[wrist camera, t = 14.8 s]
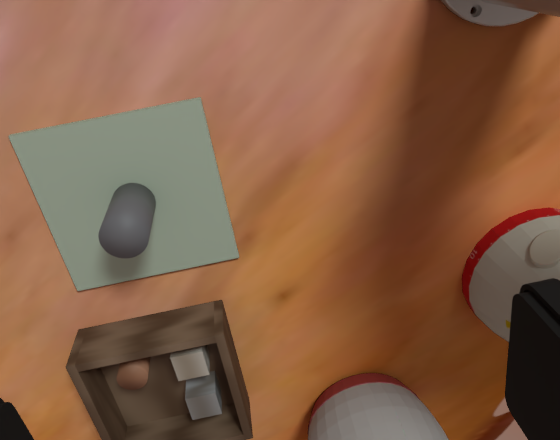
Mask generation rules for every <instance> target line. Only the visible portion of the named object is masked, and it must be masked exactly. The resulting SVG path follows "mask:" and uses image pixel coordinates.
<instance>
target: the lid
mask: <svg viewBox="0 0 560 440" xmlns="http://www.w3.org/2000/svg"><path fill="white" fill-rule="evenodd" d="M8 137H9V139H10V141H11V143H12V146H13V148H14V150H15V152H16V155H17V157H18V159H19V161H20V163H21V166H22V168H23V170H24V172H25V175H26V177H27V179H28V181H29V184H30V186H31V188H32V190H33V193H34V195H35V197H36V199H37V202H38V204H39V206H40V208H41V210H42V213H43V215H44V217H45V219H46V222H47V224H48V226H49V228H50V231H51V233H52V235H53V237H54V240H55V242H56V244H57V246H58V249H59V251H60V253H61V255H62V257H63V260H64V262H65V264H66V266H67V269H68V271H69V273H70V275H71V278H72V280H73V282H74V284H75V287H76V289H77V291H81V290H86V289H91V288H95V287H100V286H105V285H110V284H115V283H120V282H124V281H129V280H134V279H139V278H144V277H148V276H153V275H158V274H163V273H168V272H173V271H177V270H182V269H187V268H192V267H197V266H201V265H206V264H211V263H216V262H221V261H226V260H230V259H235V258H239V253H238V249H237V245H236V241H235V237H234V233H233V229H232V224H231V220H230V216H229V212H228V208H227V204H226V200H225V196H224V191H223V187H222V183H221V179H220V175H219V171H218V167H217V163H216V158H215V154H214V150H213V146H212V142H211V138H210V134H209V130H208V126H207V121H206V117H205V113H204V109H203V105H202V101H201V97H198V98H193V99H188V100H183V101H178V102H173V103H168V104H162V105H157V106H152V107H147V108H142V109H137V110H132V111H127V112H122V113H117V114H112V115H107V116H102V117H97V118H92V119H87V120H82V121H76V122H71V123H66V124H61V125H56V126H51V127H46V128H41V129H36V130H31V131H26V132H21V133H16V134H11V135H9V136H8Z"/></svg>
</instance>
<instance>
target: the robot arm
mask: <svg viewBox="0 0 560 440" xmlns="http://www.w3.org/2000/svg"><path fill="white" fill-rule="evenodd" d="M441 1H442V2H443V3H444V4H445V5H446V7H447V8H448V9H449V10H450V11H452V12H453V13H454V14H456V15H457V16H459V17H460V18H462V19H464V20H467V21H470V22H472V23H475V24H480V25H484V26H507V25H512V24H517V23H519V22H522V21H525V20H527V19H530V18H532V17H534V16H535V15H537V14H539V13H542V14H547V15H552V16H558V17H560V0H441ZM472 7H473V12H472V13H470V11H471V8H472ZM505 398H506V402H507V406H508V408H509V410H510V412H511V414H512V416H513V417H514V419H515V420H516V422H517V423H518V425H519V426H520V428H521V429H522V431H523V432H524V434H525V436H526V437H527V439H528V440H560V280H558V279H555V278H551V279H547V280H542V281H537V282H532V283H528V284H524V285H522V287H521V288H520V292H519V294H515V295H514V296H513V299H512V310H511V323H510V336H509V349H508V361H507V374H506V387H505ZM0 440H34V439H33V437H32V435H31V434H30V432H29V430H28V429H27V427H26V425H25V424H24V422H23V420H22V419H21V417H20V415H19V414H18V412H17V410H16V409H15V407H14V406H13V405H12V403H10V402H4V401H3V400H2V399H1V398H0Z"/></svg>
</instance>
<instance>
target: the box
mask: <svg viewBox="0 0 560 440" xmlns="http://www.w3.org/2000/svg"><path fill="white" fill-rule="evenodd" d="M66 369H67V371H68V373H69V375H70V377H71V379H72V381H73V383H74V385H75V387H76V389H77V391H78V393H79V395H80V397H81V399H82V401H83V403H84V405H85V407H86V409H87V411H88V413H89V415H90V417H91V419H92V421H93V423H94V425H95V427H96V429H97V431H98V433H99V435H100V437H101V439H102V440H246V439H251V438H253V435H252V424H251V413H250V402H249V397H248V393H247V390H246V386H245V382H244V379H243V375H242V371H241V368H240V364H239V360H238V357H237V353H236V349H235V346H234V342H233V338H232V335H231V331H230V327H229V324H228V320H227V316H226V313H225V309H224V305H223V302H222V300H219V301H214V302H209V303H204V304H200V305H195V306H190V307H185V308H180V309H176V310H171V311H166V312H161V313H156V314H152V315H147V316H142V317H137V318H132V319H128V320H123V321H118V322H113V323H108V324H104V325H99V326H94V327H89V328H84V329H80V330H78V332H77V335H76V338H75V341H74V344H73V347H72V350H71V353H70V356H69V359H68V362H67V365H66Z"/></svg>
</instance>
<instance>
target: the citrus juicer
mask: <svg viewBox="0 0 560 440" xmlns="http://www.w3.org/2000/svg"><path fill="white" fill-rule="evenodd" d="M308 440H449V439H448V438H447V436H446V434H445V432H444V431H443V429H442V427H441V426H440V425H439V423H438V422H437V420H436V419H435V418H434V416H433V415H432V414H431V412H430V411H429V410H428V408H427V407H426V406H425V405H424V404H423V403H422V402H421V401H420V400H419V398H418V397H417V395H416V394H415V393H413V392H412V391H411V390H410V389H409V388H408V387H406V386H405V385H404V384H403V383H401V382H400V381H399V380H397V379H395V378H393V377H391V376H388V375H384V374H377V373H366V374H359V375H354V376H351V377H348V378H345V379H342V380H340V381H339V382H337V383H335V384H333V385H332V386H331V387H329V388H328V389H327V390H325V391H324V392H323V393H322V395H321V396H320V397H319V398H318V400H317V401H316V403H315V405H314V408H313V410H312V414H311V417H310V421H309V426H308Z"/></svg>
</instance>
